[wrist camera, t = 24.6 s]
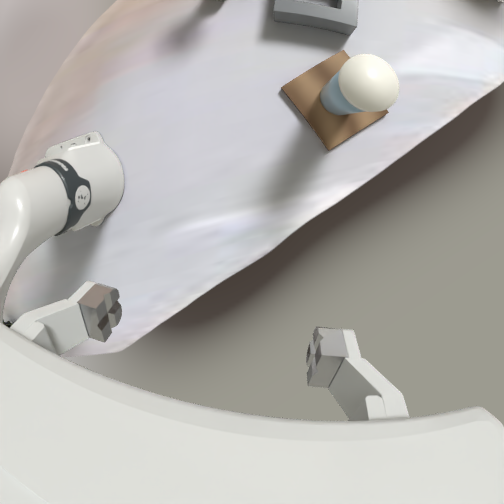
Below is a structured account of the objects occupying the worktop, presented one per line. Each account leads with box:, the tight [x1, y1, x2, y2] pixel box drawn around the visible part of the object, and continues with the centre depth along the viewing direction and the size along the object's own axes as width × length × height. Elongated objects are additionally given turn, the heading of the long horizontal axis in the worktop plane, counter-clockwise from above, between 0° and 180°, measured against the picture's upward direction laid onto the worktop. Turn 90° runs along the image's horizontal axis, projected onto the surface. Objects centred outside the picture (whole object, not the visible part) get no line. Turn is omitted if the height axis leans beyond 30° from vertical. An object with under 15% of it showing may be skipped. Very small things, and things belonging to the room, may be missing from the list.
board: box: [281, 50, 389, 150], centre depth 35 cm, size 12×12×1 cm
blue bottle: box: [320, 54, 399, 115], centre depth 27 cm, size 6×6×17 cm
